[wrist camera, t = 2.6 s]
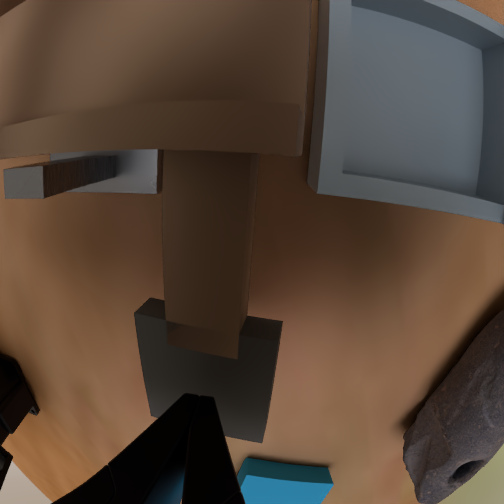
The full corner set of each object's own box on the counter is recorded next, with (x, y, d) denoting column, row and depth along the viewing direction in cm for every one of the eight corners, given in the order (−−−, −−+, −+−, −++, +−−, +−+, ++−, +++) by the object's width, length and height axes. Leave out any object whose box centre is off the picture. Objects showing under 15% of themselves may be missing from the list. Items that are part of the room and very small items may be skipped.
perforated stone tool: (490, 272, 14) (564, 331, 8) (529, 293, 14) (590, 345, 8) (373, 443, 19) (392, 516, 13) (422, 444, 19) (444, 507, 13)
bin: (306, 183, 13) (355, 233, 6) (319, -8, 10) (357, -117, 3) (477, 210, 13) (587, 265, 5) (485, 45, 10) (587, 17, 2)
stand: (59, 189, 14) (-23, 217, 8) (79, -3, 10) (13, -40, 5) (162, 191, 14) (95, 223, 8) (183, -23, 10) (142, -91, 4)
